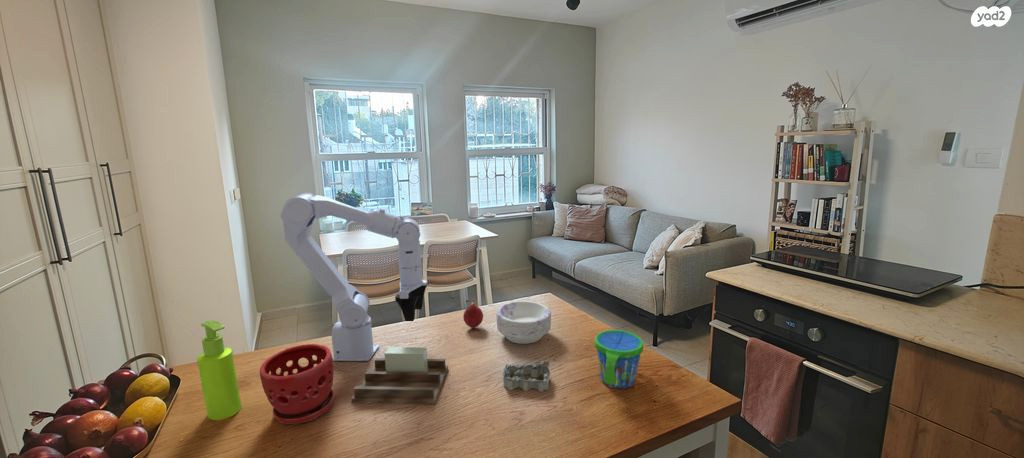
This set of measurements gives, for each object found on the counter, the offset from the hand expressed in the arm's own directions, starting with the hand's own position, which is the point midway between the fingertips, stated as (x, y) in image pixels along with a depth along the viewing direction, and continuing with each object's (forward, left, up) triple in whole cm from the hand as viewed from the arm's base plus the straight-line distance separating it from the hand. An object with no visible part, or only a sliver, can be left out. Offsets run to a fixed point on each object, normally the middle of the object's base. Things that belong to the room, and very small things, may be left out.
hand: (413, 314), depth 113 cm
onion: (+14, +12, -10) cm, 21 cm away
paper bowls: (+29, +7, -10) cm, 31 cm away
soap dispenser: (-32, -29, -10) cm, 44 cm away
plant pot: (-16, -28, -10) cm, 34 cm away
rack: (+2, -18, -9) cm, 20 cm away
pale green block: (+2, -15, -8) cm, 17 cm away
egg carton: (+30, -16, -10) cm, 36 cm away
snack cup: (+51, -15, -10) cm, 54 cm away
